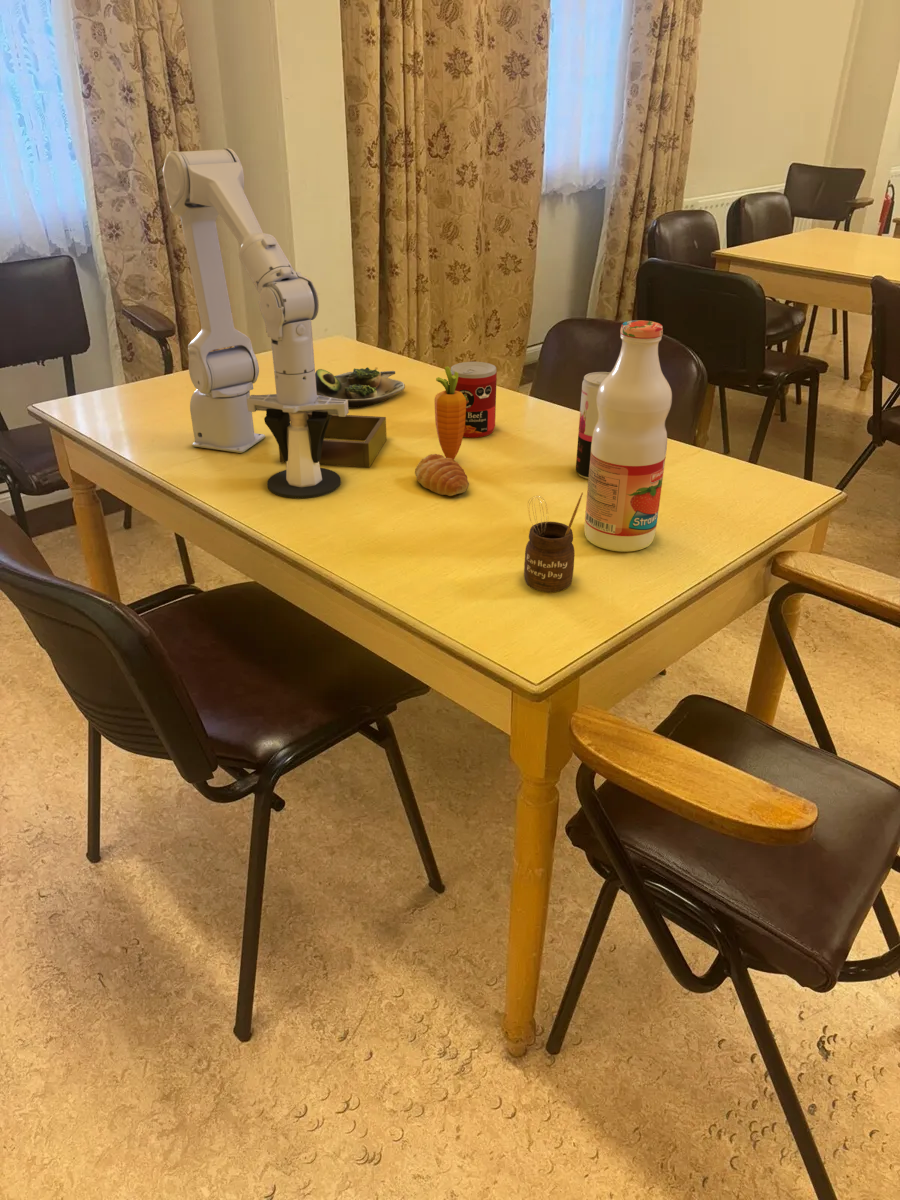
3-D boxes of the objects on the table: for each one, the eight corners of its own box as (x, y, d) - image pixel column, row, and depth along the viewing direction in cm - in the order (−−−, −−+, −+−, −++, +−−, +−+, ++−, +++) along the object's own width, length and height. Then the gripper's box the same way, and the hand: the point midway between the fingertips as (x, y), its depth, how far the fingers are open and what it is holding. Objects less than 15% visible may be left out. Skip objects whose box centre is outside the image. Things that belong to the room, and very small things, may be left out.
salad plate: (369, 371, 185) (368, 349, 183) (427, 390, 174) (427, 367, 172) (292, 391, 174) (290, 368, 171) (349, 413, 163) (348, 388, 160)
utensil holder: (528, 567, 112) (533, 478, 106) (578, 574, 111) (586, 484, 105) (518, 589, 107) (522, 498, 101) (570, 597, 106) (577, 505, 100)
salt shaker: (308, 470, 138) (302, 401, 132) (329, 480, 135) (324, 409, 129) (278, 480, 135) (271, 409, 129) (300, 490, 131) (293, 418, 126)
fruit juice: (592, 517, 125) (611, 312, 111) (660, 528, 122) (688, 319, 108) (575, 546, 117) (593, 330, 103) (647, 558, 114) (676, 337, 100)
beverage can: (571, 478, 137) (578, 381, 129) (580, 463, 142) (588, 369, 135) (613, 484, 135) (623, 386, 127) (621, 468, 140) (631, 374, 133)
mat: (253, 492, 132) (253, 489, 132) (288, 466, 141) (288, 463, 141) (321, 502, 129) (321, 499, 129) (352, 474, 138) (352, 471, 138)
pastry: (480, 492, 132) (480, 468, 130) (441, 502, 129) (441, 478, 127) (447, 471, 139) (447, 448, 137) (409, 480, 136) (409, 457, 134)
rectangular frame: (280, 462, 142) (277, 438, 140) (303, 434, 153) (301, 412, 151) (369, 467, 140) (368, 443, 138) (386, 439, 151) (385, 416, 149)
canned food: (443, 435, 153) (443, 371, 148) (460, 420, 160) (461, 359, 154) (485, 441, 151) (486, 376, 145) (501, 426, 157) (503, 363, 152)
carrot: (462, 469, 140) (463, 374, 132) (431, 466, 141) (430, 372, 133) (468, 457, 144) (469, 365, 137) (438, 455, 145) (437, 363, 138)
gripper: (235, 374, 124) (246, 466, 131) (336, 379, 122) (342, 472, 129) (252, 360, 130) (262, 449, 137) (349, 365, 128) (354, 454, 135)
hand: (302, 459), depth 133 cm, fingers closed on salt shaker, 4 cm apart
